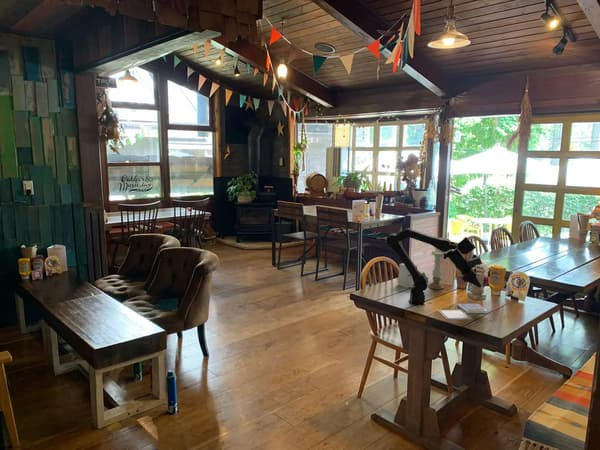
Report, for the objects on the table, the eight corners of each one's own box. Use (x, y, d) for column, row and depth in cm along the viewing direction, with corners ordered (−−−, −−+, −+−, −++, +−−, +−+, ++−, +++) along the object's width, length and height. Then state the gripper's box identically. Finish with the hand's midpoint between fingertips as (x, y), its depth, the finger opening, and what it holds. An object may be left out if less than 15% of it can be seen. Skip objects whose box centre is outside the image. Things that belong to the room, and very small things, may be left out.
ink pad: (467, 313, 210) (467, 310, 210) (458, 306, 220) (458, 303, 220) (487, 313, 211) (487, 310, 211) (477, 306, 221) (477, 303, 221)
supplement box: (406, 288, 247) (407, 266, 245) (397, 284, 254) (399, 263, 252) (416, 286, 251) (417, 265, 249) (407, 283, 257) (409, 262, 255)
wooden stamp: (475, 301, 208) (478, 275, 206) (467, 296, 214) (469, 271, 211) (485, 300, 210) (488, 274, 208) (477, 296, 215) (479, 271, 213)
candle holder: (425, 285, 255) (428, 250, 251) (440, 284, 256) (442, 250, 252) (431, 289, 246) (434, 254, 243) (446, 289, 247) (449, 254, 244)
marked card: (447, 319, 202) (447, 318, 202) (437, 310, 214) (437, 309, 214) (472, 319, 203) (472, 318, 203) (460, 310, 215) (460, 309, 215)
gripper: (472, 254, 201) (496, 281, 199) (472, 246, 218) (494, 271, 216) (452, 268, 205) (475, 295, 203) (454, 260, 222) (475, 284, 220)
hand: (480, 285), depth 210 cm, fingers closed on wooden stamp, 4 cm apart
